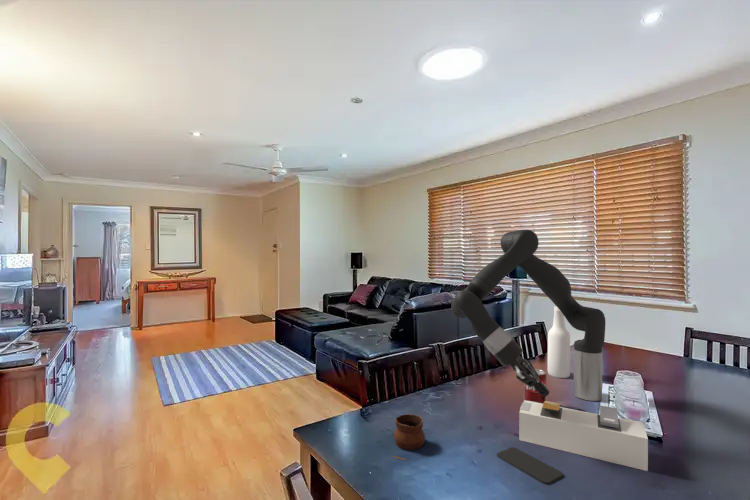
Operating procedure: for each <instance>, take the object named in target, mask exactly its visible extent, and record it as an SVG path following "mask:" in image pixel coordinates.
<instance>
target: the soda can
mask: <svg viewBox="0 0 750 500" xmlns="http://www.w3.org/2000/svg"><path fill="white" fill-rule="evenodd" d="M534 369H535V370H536V372H537V373H538V375H539V379H540V381H541V382H542V384H543V385H544V386H545V387H546V388H547V373H546V372H545V370H543V369H538V368H534ZM524 400H526V401H532V402H537V403H542V404H543V403H544V401H547V396H546V397H542V396H541V395H540V393H539V392H538V391H537V390H536V389H535V388H534V387H529V386H527V385H526V384H525V383H523V401H524Z"/></svg>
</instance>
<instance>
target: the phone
mask: <svg viewBox="0 0 750 500" xmlns="http://www.w3.org/2000/svg"><path fill="white" fill-rule="evenodd" d="M496 457H497V458H498V459H500V460H502V461H504V462H506V463H507V464H508V465H511V466H512V467H514V468H515V469H517V470H519V471H521V472H522V473H525V475H527V476H529V477H531V478H533V479H535V480H536V481H538V482H539V483H542V484H543V485H551V484H553V483H554V482H556V481H558V480H560V479H562V478H563V477H564V473H563V472H562V471H561V470H559V469H556V468H555V467H554V466H551V465H549V464H548V463H545V462H543V461H542V460H540V459H538V458H536V457H534V456H533V455H529V454H528V453H526V452H525V451H522V450H521V449H518V448H516V447H512V446H511V447H509V448H506V449H503V450H502V451H501V450H500V452H497V453H496Z"/></svg>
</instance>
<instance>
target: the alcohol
mask: <svg viewBox="0 0 750 500" xmlns="http://www.w3.org/2000/svg"><path fill="white" fill-rule="evenodd" d="M552 321H553V322H552V327H551V328H550V329H549V330H548V333H547V373H548V375H549V376H550V377H553V378H557V379H568V378H569V377H570V376H571V335H570V332H569V331H568V329H567V328H566V325H565V316H564V315H563V314H562V312H561V311H560V309H559V308H558V307H557V306H556V305H555V306H553V320H552Z"/></svg>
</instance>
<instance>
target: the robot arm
mask: <svg viewBox="0 0 750 500" xmlns="http://www.w3.org/2000/svg"><path fill="white" fill-rule="evenodd" d="M538 237H539V236H538V235H537V234H536V232H535V231H533V230H531V229H519V230H514V231H513V230H512V231H508V232H506V233H504V234H503V235H502V236H501V238H500V247H501V250H502V252H503V253H502V254H501V256H499V257H497V258H496V259H494V260H493V261H492V262H490V263H488V264H487V265H485V266H484V267H482V269H480V271H478V272H477V274H476V275H475V276H473V278H472V279H471V281H470V282H469V284H468V285H467V286H466V287H465V289H463V290H461V291H458V292H457V294H456V295H455V297H454V299H453V300H452V302H451V304H450V305H451V307H450V309H451V312H452V314H453V315H454V316H455V317H456V318H459V319H466V318H467V319H468V320H469V321H470V323H471V330H472V331H473V332H474V334H475V335H476V336H477V337H478V338H479V339H480V340H481V341H482V342H483V344H484V346H485V347H486V348H487V350H488V351H489V352H490V353H491V354H492V355H493V356H494V358H495V359H496V360H497V361H498V363H500V364H501V365H502V366H503V367H507V366H508V365H510V367H511V368H512V371H513V372H514V373H515V374H516V375H515V378H516V379H518V380H519V381H520V382H521V383H523V384H524V383H525V384H526V385H527V386H529V387H534V388H535V389H536V390H537V391H538V392H539V393H540V395H541V396H542V397H546V398H547V396H549V394H550V390H549V389H548V387H547V386H546V387H545V386H544V385H543V384H542V382H541V381H540V379H539V375H538V373H537V372H536V370H535V369H536V368H535V367H534V365H533V364H532V363H531V361H530V360H527V359H526V358H524V357H523V356H521V354H522V353H523V352H524V350H523V349H524V348H522V347H521V346H520V345H519V344H518V343H517V342H516V340H514V339H513V337H512V336H511V335H510V334H509V333H508V332H507V331H506V330H505V329H504V328H503V327H501V326H500V325H499V324H498V322H496V321H495V319H494V318H493V317H492V316H491V315H490V313H489V311H488V310H487V308H486V306H485V305H484V304H483V302H482V301H483V300H484V299H485V298H486V297H487V296H489V295H490V294H491V292H493V291H494V290H495V288H496V287H497V286H498V285H499V284H500V283H501V282H502V281H503V280H504V279H505V278H506V277H507V276H508V275H509V274H510V273H511V272H512V271H513V270H514V269H516V268H517V267H519V268H520V269H521V270H522V271H524V273H525V274H526V275H527V276H528V277H529V278H530V279H531V280H532V281H533V282H534V283H535V285H536V286H537V287H538V288H539V289H540V290H541V291H542V292H543V294H545V296H546V297H548V299H549V300H550V301H551V302H552V303H553V304H554V305H555V306H557V307H558V308H559V309H560V311H561V312H562V314H563V315H564V319H566V321H567V322H568V323H569V324H570V325H571V327H572V328H574V329H575V330H577V331H581V332H584V336H583V337H584V338H582V339H577V340H575V341H573V395H574V396H575V397H576V398H579V399H582V400H586V401H590V402H591V401H592V402H598V401H602V399H603V348H604V345H605V339H606V317H605V314H604V312H603V311H602V310H601V309H599V308H594V307H589V306H583V305H581V304H580V303H579V302H577V300H575V298H574V297H573V295H572V286H571V283H570V281H569V280H568V278H567V277H566V276H565V275H564V273H563V272H561V271H560V270H559V268H557V267H556V266H554V265H552V264H550V262H547V261H545V260H543V259H541V258H539V257H537V256H536V255H535V253H536V251H537V250H538V248H539V242H540V241H539V238H538Z"/></svg>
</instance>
